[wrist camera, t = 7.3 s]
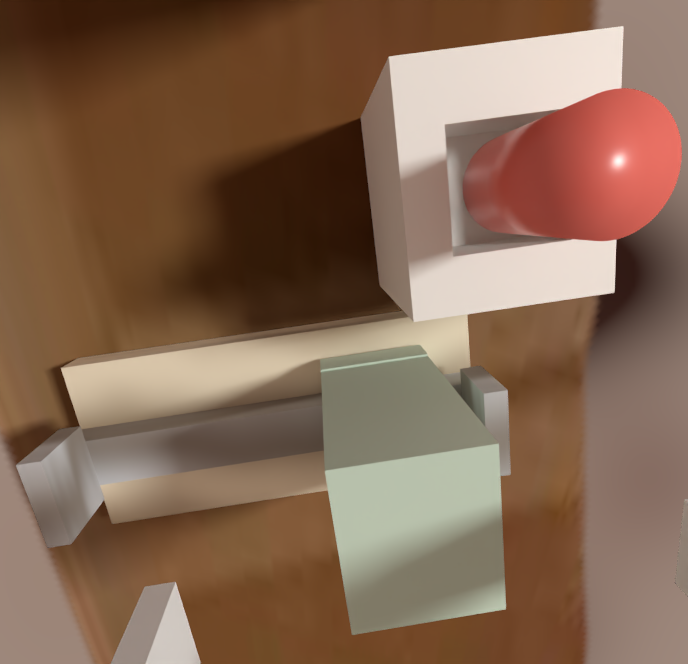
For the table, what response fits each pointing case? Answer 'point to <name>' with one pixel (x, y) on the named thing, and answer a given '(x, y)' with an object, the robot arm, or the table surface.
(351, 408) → the carriage
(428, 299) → the hollow box
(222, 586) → the table surface
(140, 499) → the rail
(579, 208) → the button
